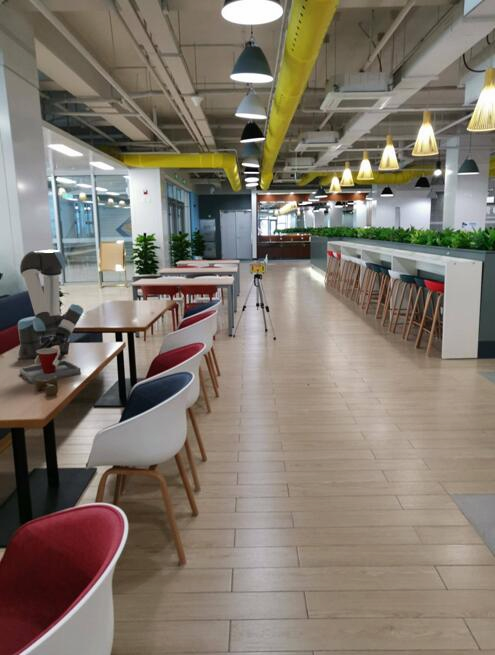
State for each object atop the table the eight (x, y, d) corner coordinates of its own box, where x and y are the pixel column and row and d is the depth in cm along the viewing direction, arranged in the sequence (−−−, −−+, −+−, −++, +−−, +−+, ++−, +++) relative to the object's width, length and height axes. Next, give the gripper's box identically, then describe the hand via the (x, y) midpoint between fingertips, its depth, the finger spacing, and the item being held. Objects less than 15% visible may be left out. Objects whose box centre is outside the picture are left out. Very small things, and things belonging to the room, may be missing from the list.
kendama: (41, 399, 221) (33, 387, 238) (64, 395, 226) (55, 384, 243) (40, 386, 220) (32, 375, 237) (62, 383, 225) (54, 372, 242)
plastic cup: (53, 375, 254) (50, 352, 252) (34, 374, 257) (31, 352, 254) (65, 369, 265) (62, 347, 262) (46, 369, 267) (44, 347, 265)
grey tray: (20, 374, 263) (19, 368, 263) (66, 365, 277) (65, 360, 277) (32, 383, 244) (31, 378, 244) (80, 373, 258) (80, 368, 258)
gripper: (86, 335, 265) (67, 370, 255) (53, 332, 276) (33, 365, 266) (77, 327, 259) (57, 362, 249) (43, 324, 271) (23, 358, 261)
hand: (45, 364), depth 258 cm, fingers open, 13 cm apart
